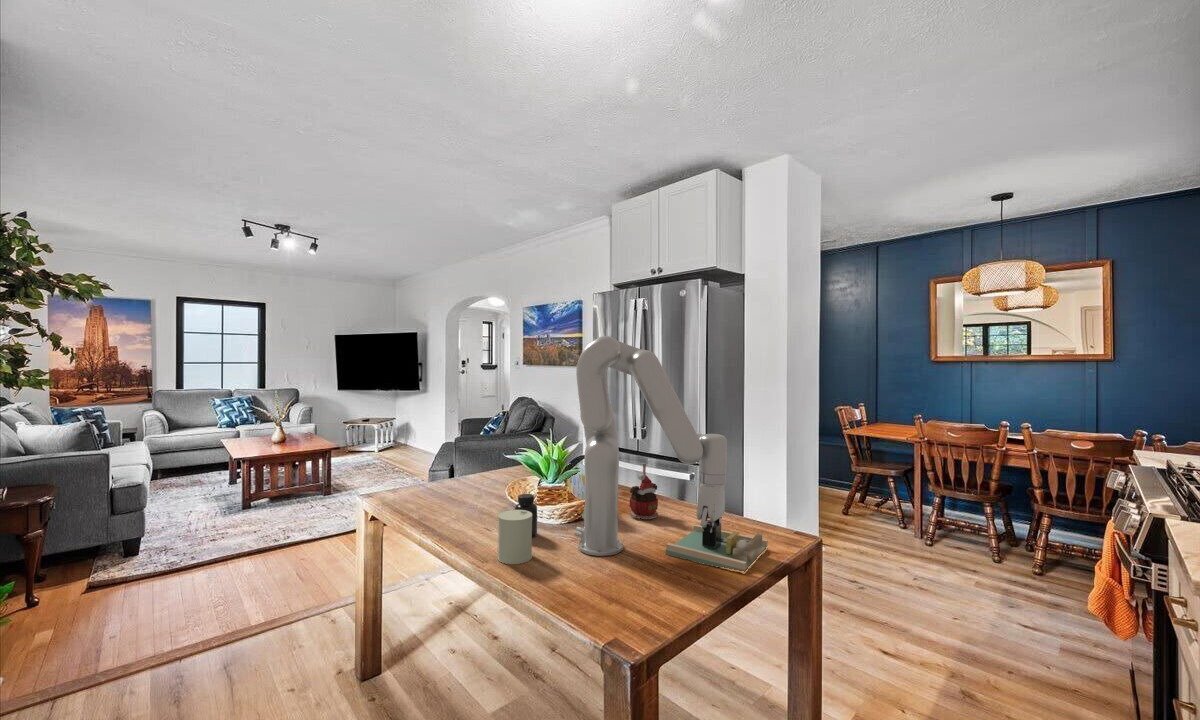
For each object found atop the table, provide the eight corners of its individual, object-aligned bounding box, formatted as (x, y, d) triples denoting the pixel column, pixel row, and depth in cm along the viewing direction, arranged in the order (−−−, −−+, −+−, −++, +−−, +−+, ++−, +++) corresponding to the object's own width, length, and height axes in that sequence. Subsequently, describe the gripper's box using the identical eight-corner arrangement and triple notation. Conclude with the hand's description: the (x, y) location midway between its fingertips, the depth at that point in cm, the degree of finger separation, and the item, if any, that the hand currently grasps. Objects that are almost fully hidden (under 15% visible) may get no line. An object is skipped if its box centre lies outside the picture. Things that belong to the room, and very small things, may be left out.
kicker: (700, 547, 140) (700, 525, 140) (709, 540, 145) (709, 519, 145) (730, 554, 135) (730, 532, 135) (738, 547, 140) (738, 525, 140)
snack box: (601, 520, 166) (601, 474, 166) (585, 522, 164) (585, 476, 164) (579, 502, 186) (580, 462, 186) (565, 503, 184) (566, 463, 184)
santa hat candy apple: (646, 510, 177) (647, 459, 177) (664, 517, 170) (665, 464, 170) (622, 515, 172) (623, 463, 171) (639, 523, 164) (640, 468, 164)
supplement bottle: (539, 531, 154) (539, 493, 154) (534, 539, 148) (534, 499, 147) (517, 530, 155) (518, 492, 155) (511, 538, 148) (512, 498, 148)
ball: (740, 539, 135) (749, 551, 133) (745, 535, 138) (754, 547, 136) (731, 546, 136) (739, 558, 135) (735, 542, 139) (744, 554, 138)
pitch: (665, 554, 138) (666, 544, 138) (695, 533, 155) (695, 524, 155) (744, 574, 126) (744, 563, 126) (767, 549, 142) (767, 540, 142)
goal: (732, 558, 133) (733, 540, 133) (744, 547, 141) (744, 530, 141) (751, 562, 130) (751, 544, 130) (761, 551, 138) (762, 534, 138)
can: (539, 555, 136) (539, 511, 136) (515, 567, 128) (516, 520, 128) (514, 548, 141) (515, 505, 141) (490, 558, 133) (490, 514, 133)
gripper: (711, 471, 150) (710, 532, 150) (688, 482, 136) (686, 549, 136) (735, 474, 146) (734, 537, 146) (714, 486, 132) (713, 555, 132)
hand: (711, 542), depth 141 cm, fingers closed on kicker, 4 cm apart
